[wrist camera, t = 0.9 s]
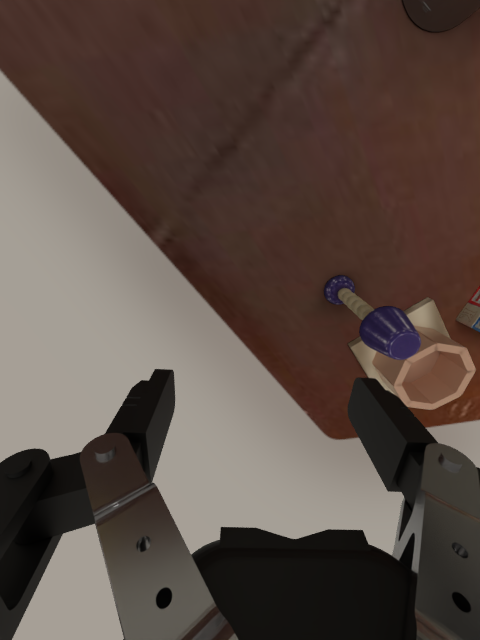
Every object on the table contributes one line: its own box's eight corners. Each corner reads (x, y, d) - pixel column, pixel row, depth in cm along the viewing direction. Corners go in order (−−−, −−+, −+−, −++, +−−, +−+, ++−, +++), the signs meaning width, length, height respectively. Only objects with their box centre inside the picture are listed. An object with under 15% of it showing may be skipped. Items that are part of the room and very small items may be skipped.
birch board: (427, 297, 39) (433, 299, 38) (455, 360, 43) (461, 364, 42) (347, 343, 41) (350, 347, 40) (381, 399, 46) (384, 403, 44)
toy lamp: (350, 306, 39) (426, 368, 24) (319, 307, 39) (374, 369, 24) (355, 274, 37) (440, 318, 22) (322, 275, 37) (384, 319, 22)
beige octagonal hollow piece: (426, 313, 39) (459, 330, 33) (449, 362, 42) (482, 385, 36) (363, 349, 41) (384, 371, 35) (389, 393, 44) (412, 419, 38)
